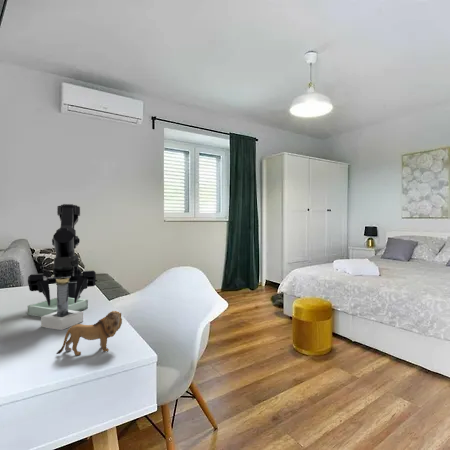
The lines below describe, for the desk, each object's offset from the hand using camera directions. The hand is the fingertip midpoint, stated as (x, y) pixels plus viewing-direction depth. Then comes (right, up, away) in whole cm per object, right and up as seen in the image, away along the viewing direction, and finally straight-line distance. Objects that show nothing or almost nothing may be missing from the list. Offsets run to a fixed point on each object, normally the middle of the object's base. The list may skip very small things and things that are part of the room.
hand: (62, 303), depth 89 cm
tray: (-9, -6, +14) cm, 18 cm away
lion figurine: (+17, -7, -16) cm, 24 cm away
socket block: (-1, -7, +1) cm, 7 cm away
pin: (-1, -7, +1) cm, 7 cm away
